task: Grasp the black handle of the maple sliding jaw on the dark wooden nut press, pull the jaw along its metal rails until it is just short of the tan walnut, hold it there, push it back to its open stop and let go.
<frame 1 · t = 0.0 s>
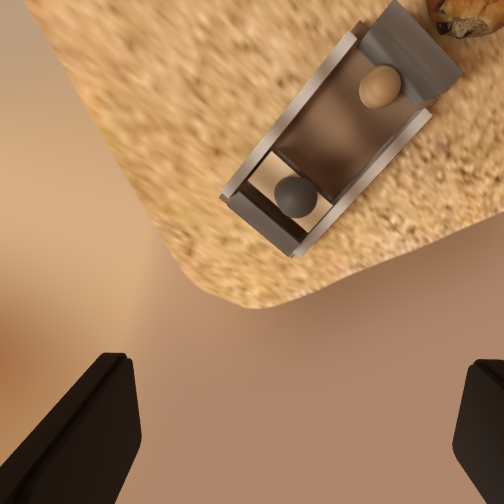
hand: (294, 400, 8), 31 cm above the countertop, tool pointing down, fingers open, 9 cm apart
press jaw: (293, 192, 31), point 7 cm above the countertop, slide at 0.0 cm
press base: (320, 152, 36), on the countertop
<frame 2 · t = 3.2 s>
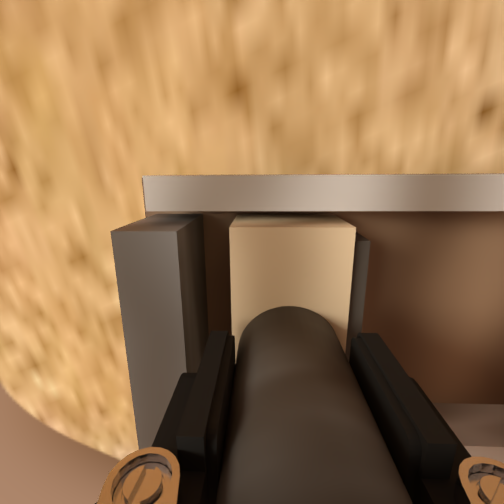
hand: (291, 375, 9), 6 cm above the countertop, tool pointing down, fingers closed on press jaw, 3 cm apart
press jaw: (303, 389, 9), point 7 cm above the countertop, slide at 0.0 cm, touching gripper
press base: (399, 298, 15), on the countertop
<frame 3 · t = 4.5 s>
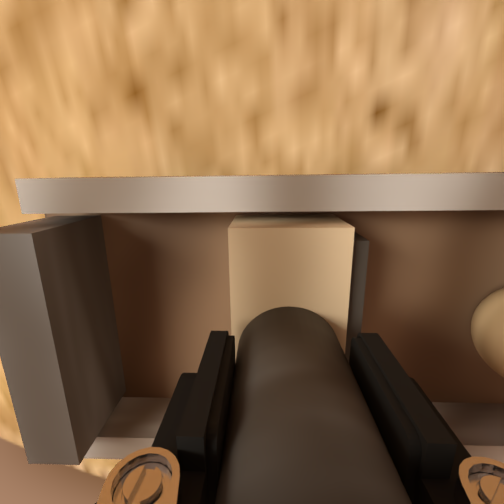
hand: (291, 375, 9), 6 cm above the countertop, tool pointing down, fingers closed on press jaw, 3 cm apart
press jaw: (303, 389, 9), point 7 cm above the countertop, slide at 4.4 cm, touching gripper
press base: (311, 298, 15), on the countertop
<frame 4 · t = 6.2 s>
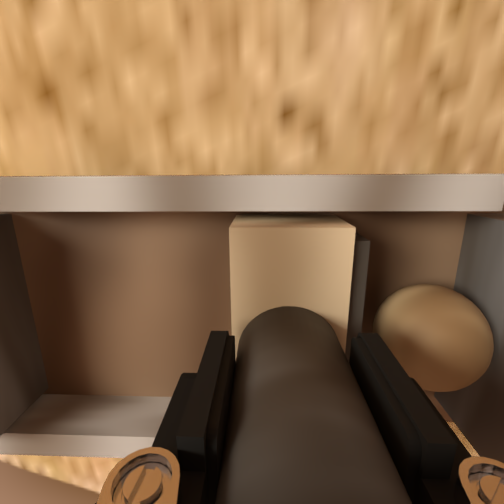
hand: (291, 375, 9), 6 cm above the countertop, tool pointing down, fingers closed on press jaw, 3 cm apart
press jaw: (303, 389, 9), point 7 cm above the countertop, slide at 8.5 cm, touching gripper
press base: (232, 297, 15), on the countertop
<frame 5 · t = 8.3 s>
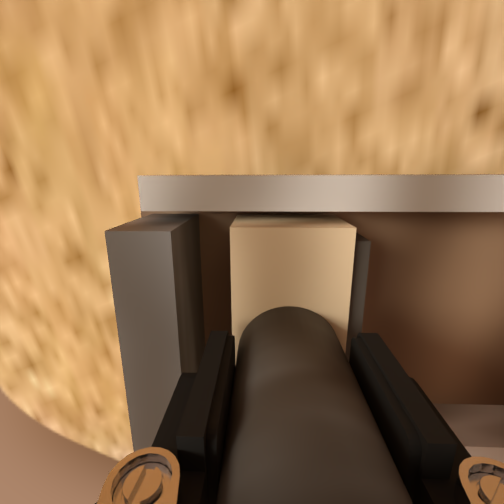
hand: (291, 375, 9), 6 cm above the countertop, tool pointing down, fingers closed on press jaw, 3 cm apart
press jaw: (303, 389, 9), point 7 cm above the countertop, slide at 0.2 cm, touching gripper
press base: (395, 299, 15), on the countertop
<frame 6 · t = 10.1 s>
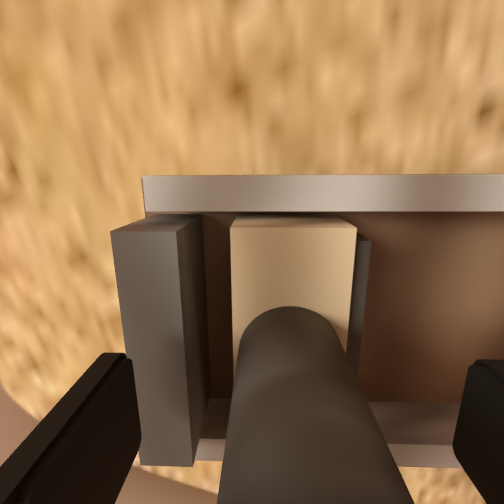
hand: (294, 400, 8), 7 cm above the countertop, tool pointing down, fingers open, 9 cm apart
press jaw: (304, 389, 9), point 7 cm above the countertop, slide at 0.0 cm
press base: (399, 298, 15), on the countertop
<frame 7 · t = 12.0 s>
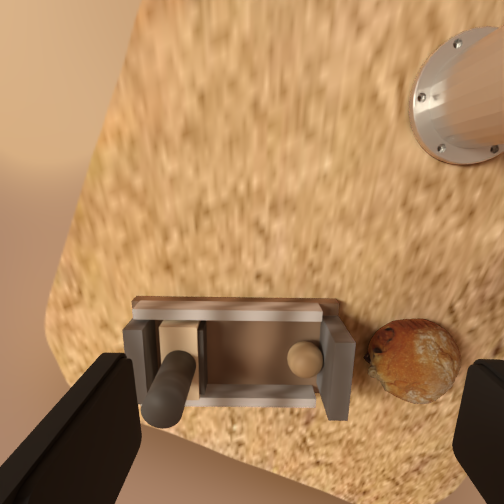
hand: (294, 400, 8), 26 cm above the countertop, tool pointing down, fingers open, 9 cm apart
bread roll: (401, 350, 38), on the countertop
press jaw: (178, 375, 31), point 7 cm above the countertop, slide at 0.0 cm
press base: (236, 342, 37), on the countertop
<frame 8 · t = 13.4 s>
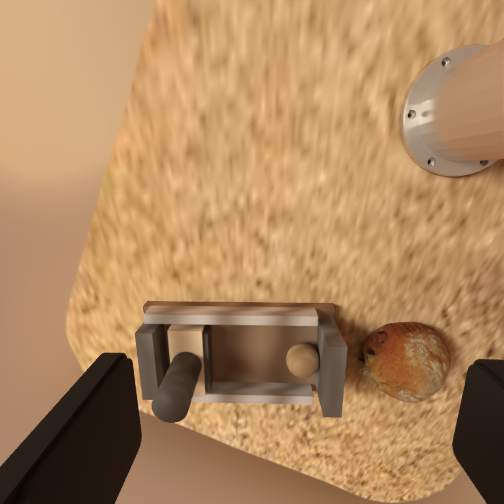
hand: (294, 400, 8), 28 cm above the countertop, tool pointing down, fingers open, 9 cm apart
bread roll: (395, 351, 40), on the countertop
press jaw: (185, 375, 34), point 7 cm above the countertop, slide at 0.0 cm
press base: (239, 343, 40), on the countertop
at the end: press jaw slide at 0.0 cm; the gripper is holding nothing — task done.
